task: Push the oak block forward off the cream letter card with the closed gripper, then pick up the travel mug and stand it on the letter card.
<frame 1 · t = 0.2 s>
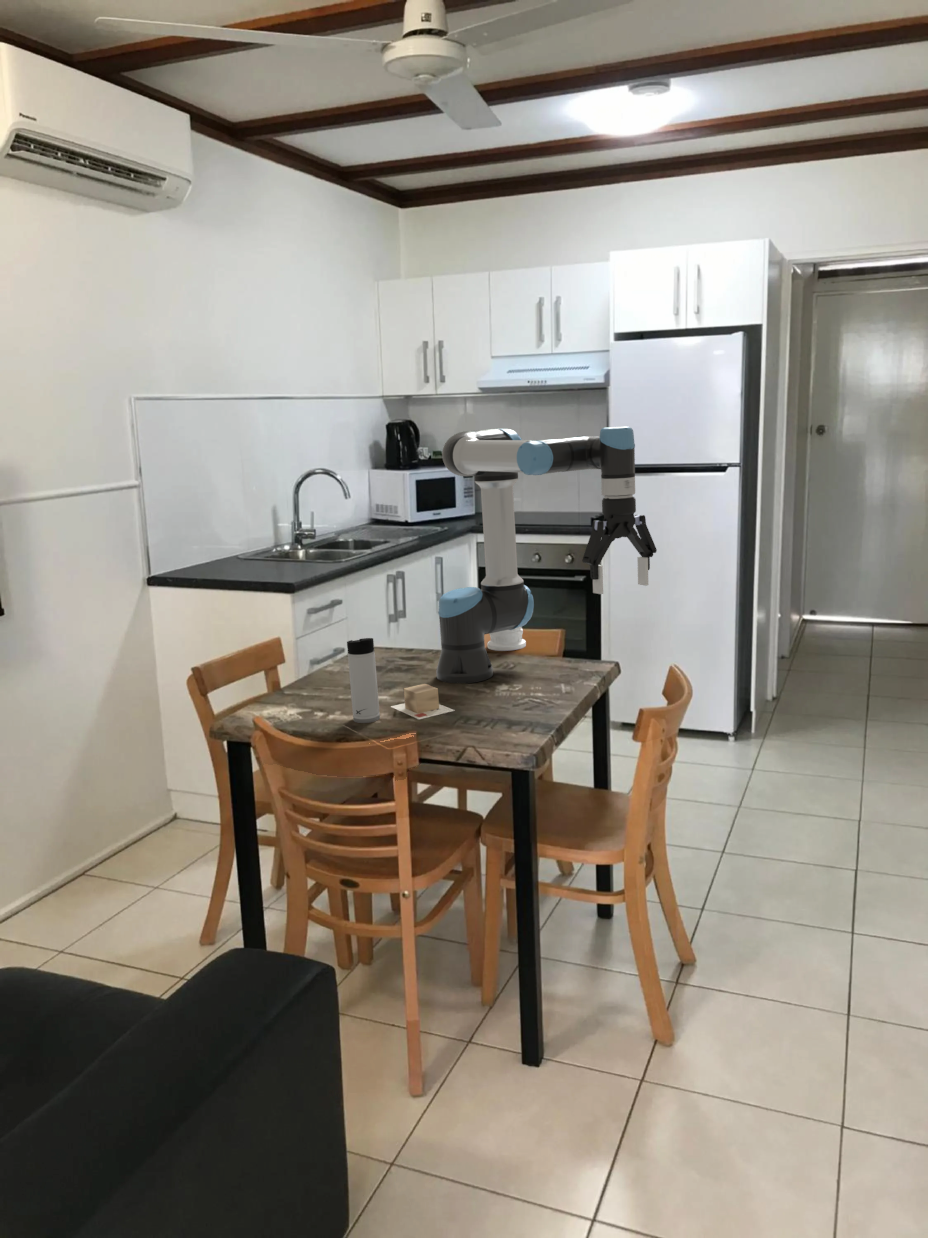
hand: (621, 589, 230), 28 cm above the table, fingers open, 13 cm apart
oak block: (422, 708, 241), resting on letter
travel mug: (367, 721, 236), on the table
letter: (422, 709, 241), on the table
decorative container: (506, 646, 300), on the table
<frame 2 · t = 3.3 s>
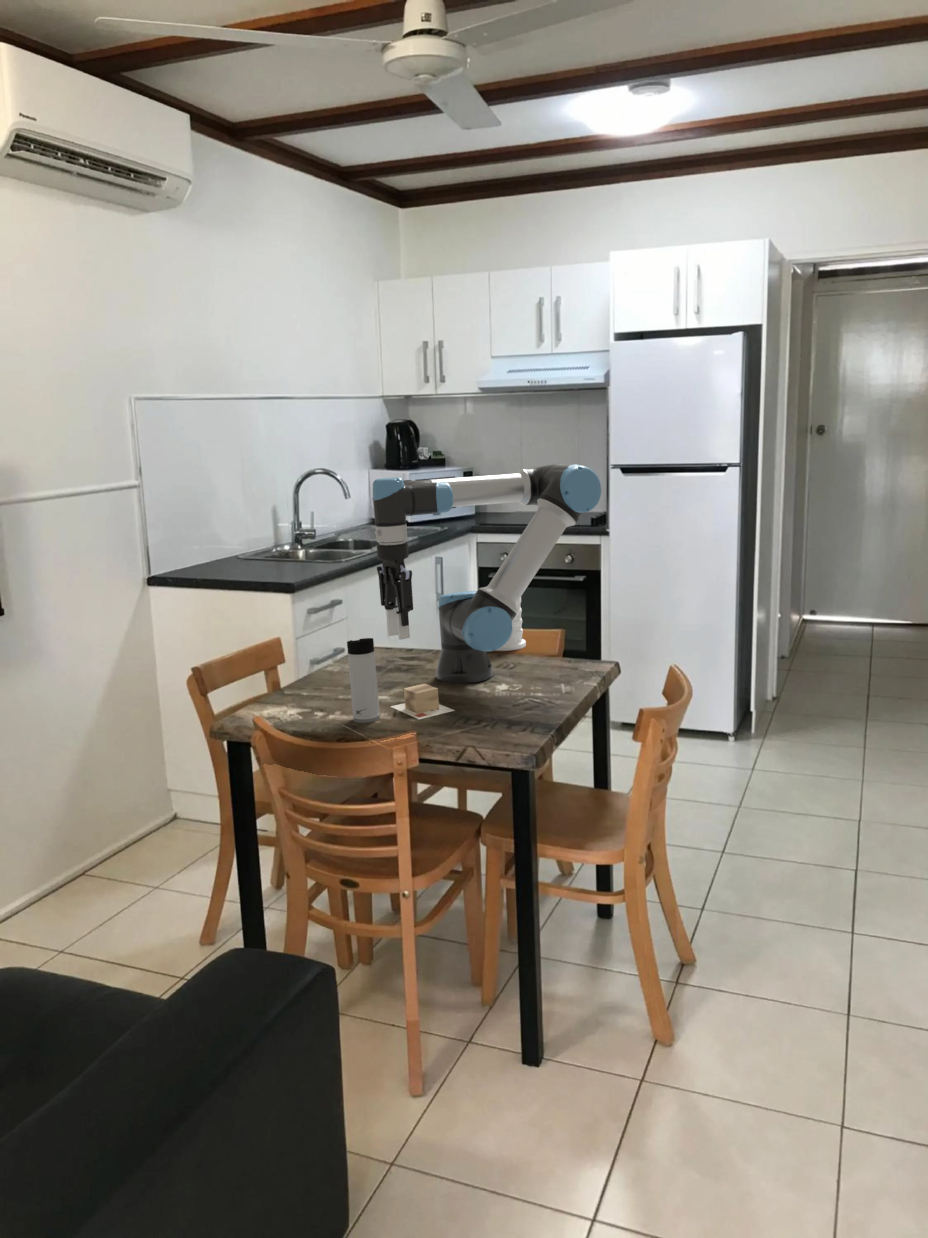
hand: (399, 636, 245), 17 cm above the table, fingers open, 4 cm apart
nothing on the table moved.
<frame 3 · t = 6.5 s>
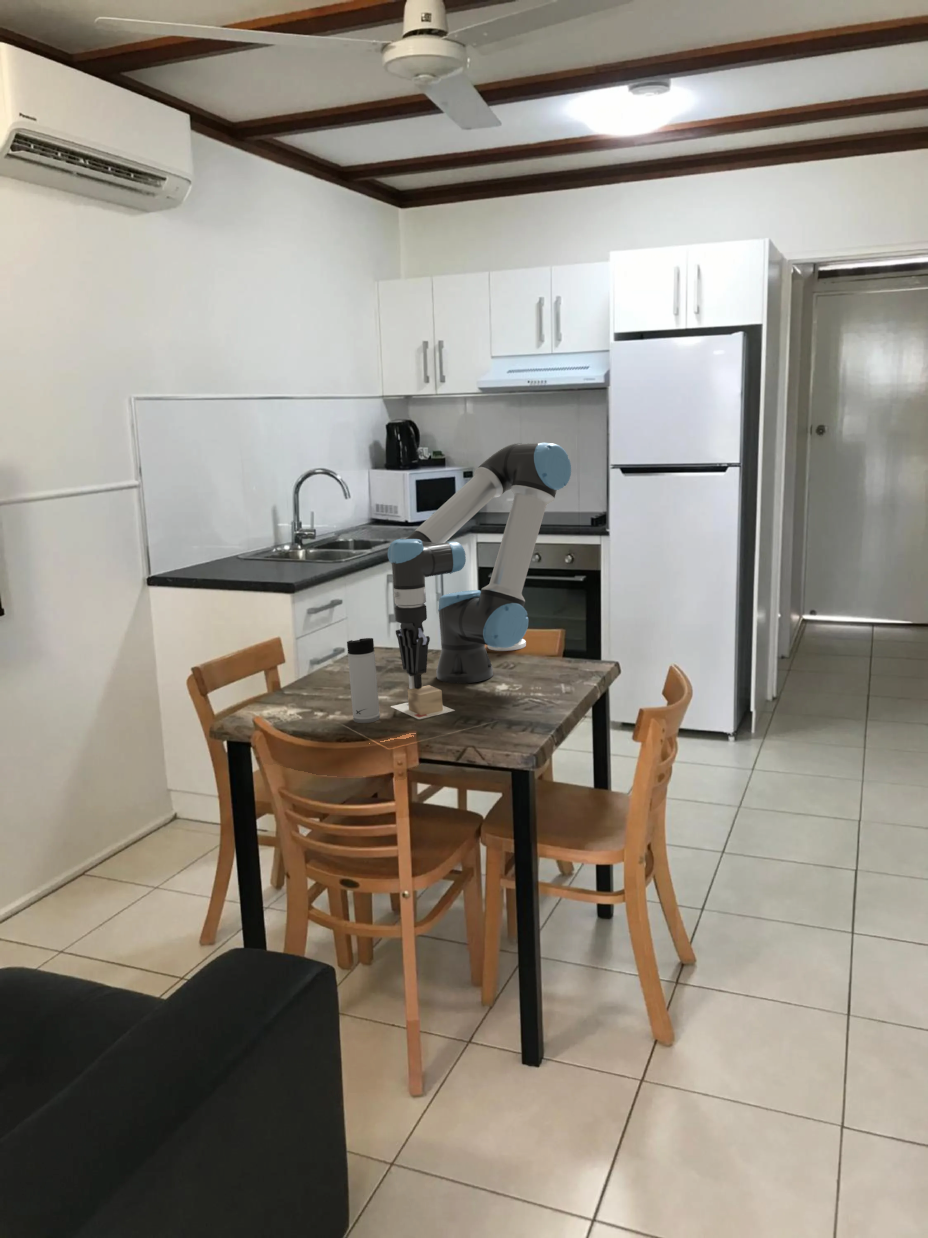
hand: (416, 700, 242), 2 cm above the table, fingers closed
oak block: (425, 710, 240), resting on letter
everything else where it was.
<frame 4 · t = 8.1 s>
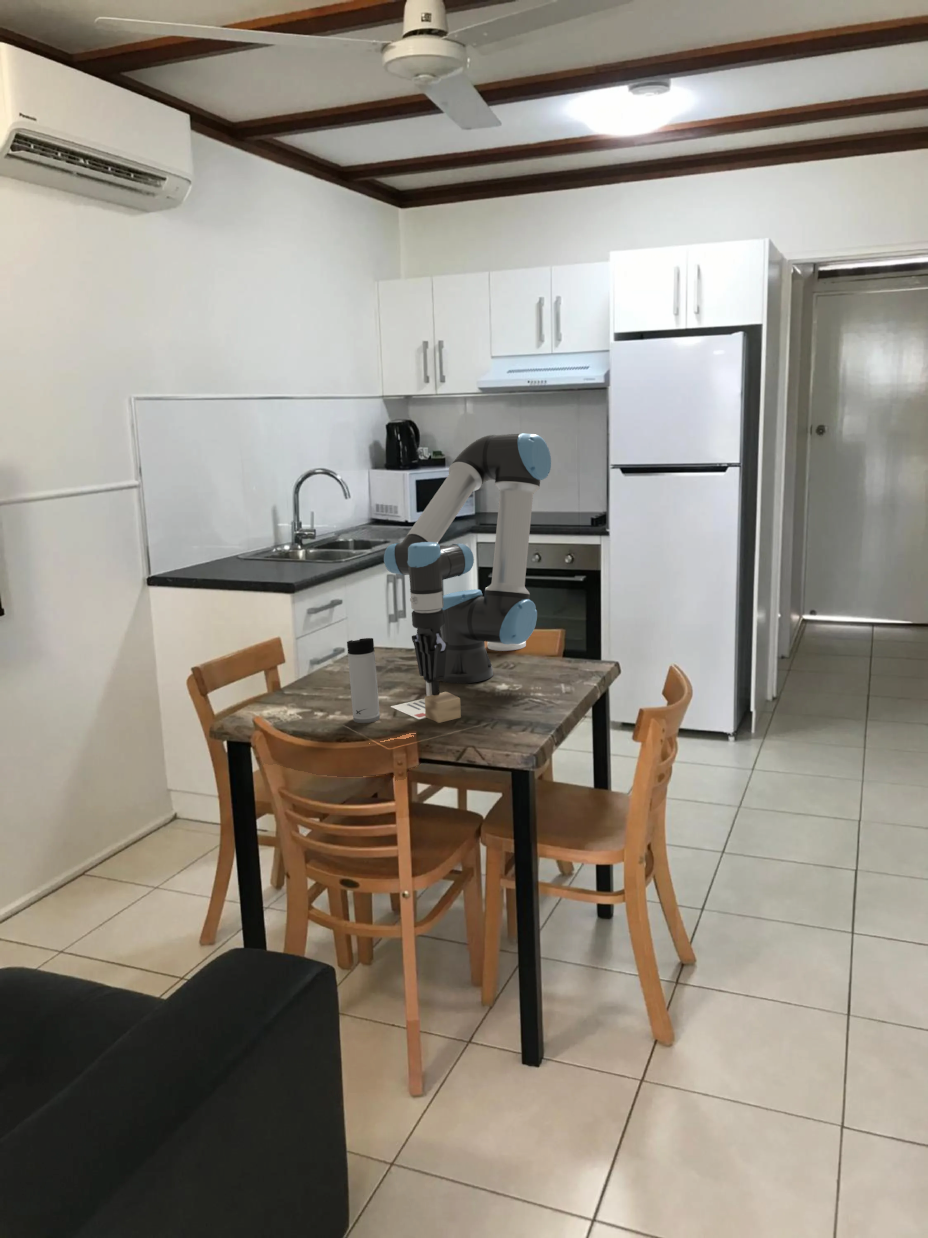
hand: (433, 707, 236), 2 cm above the table, fingers closed
oak block: (443, 717, 234), on the table, touching gripper, letter
everything else where it was.
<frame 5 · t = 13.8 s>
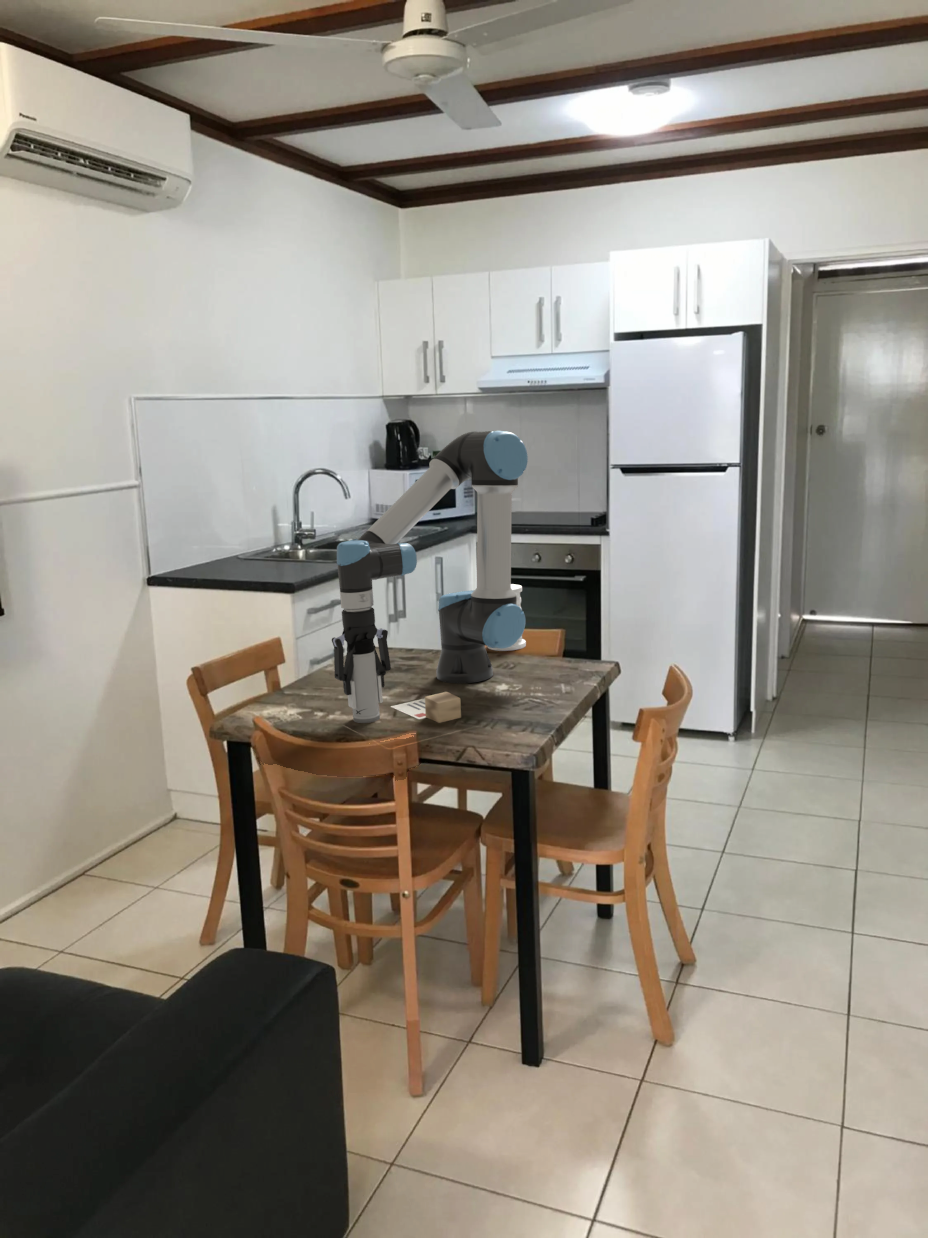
hand: (365, 704, 235), 4 cm above the table, fingers closed on travel mug, 6 cm apart
oak block: (443, 717, 234), on the table, touching letter
travel mug: (367, 721, 236), on the table, touching gripper
everything else where it was.
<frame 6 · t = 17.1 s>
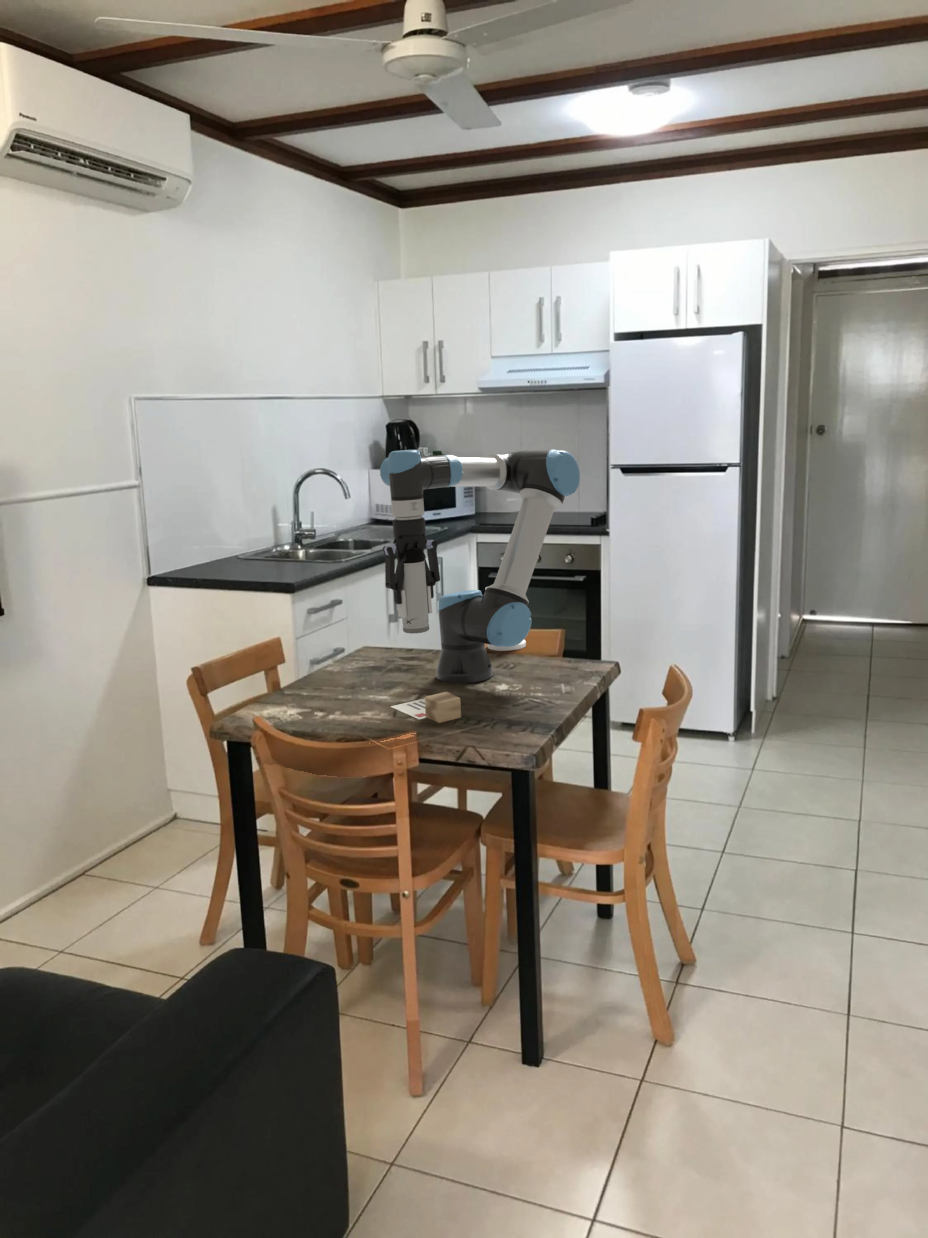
hand: (415, 614, 237), 23 cm above the table, fingers closed on travel mug, 6 cm apart
travel mug: (416, 631, 237), point 19 cm above the table, touching gripper
everything else where it was.
when the fingers open (5 cm above the table, at t = 20.6 s): travel mug drops 1 cm, resting on letter.
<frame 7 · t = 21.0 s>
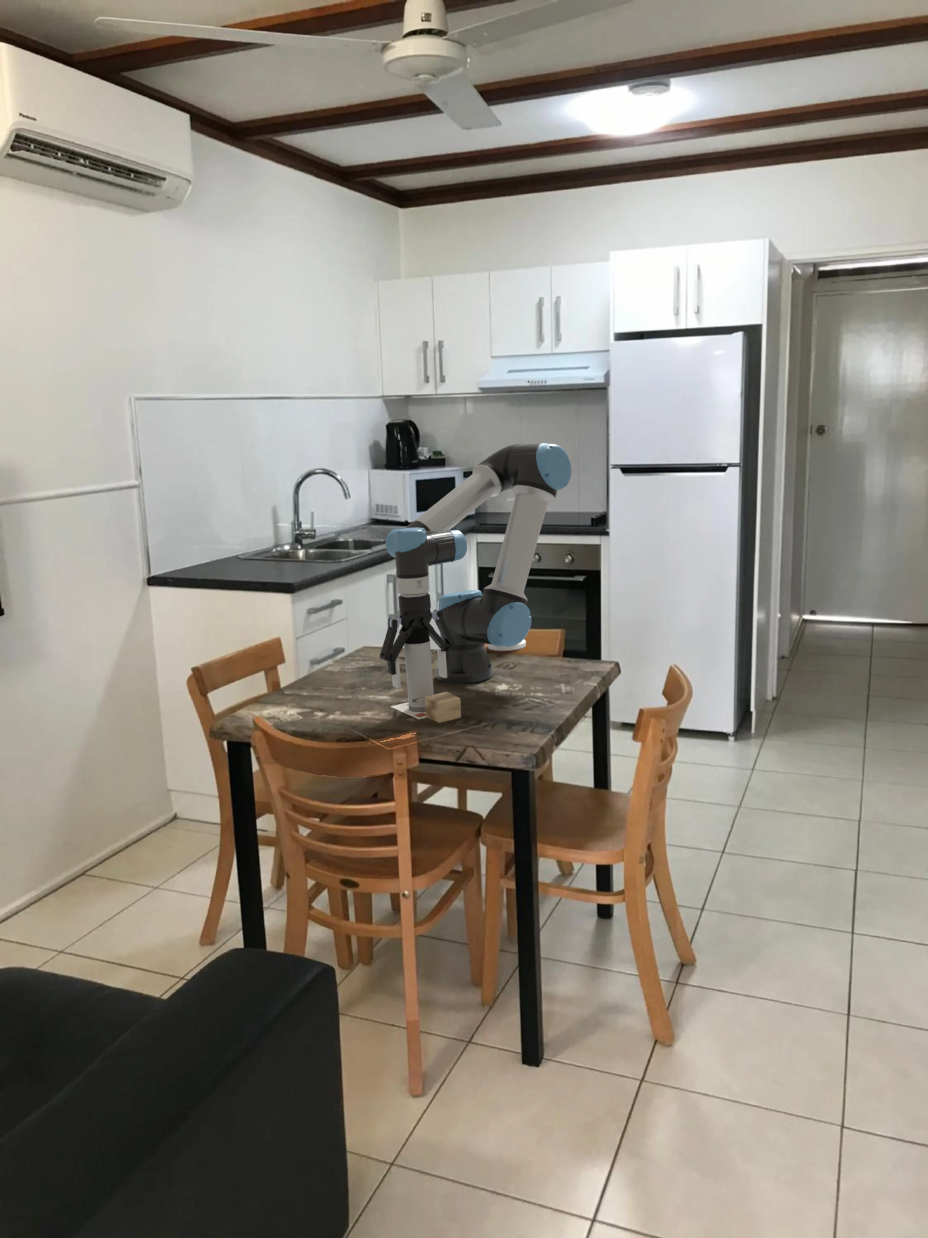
hand: (420, 682, 240), 7 cm above the table, fingers open, 12 cm apart
travel mug: (422, 709, 241), resting on letter
everything else where it was.
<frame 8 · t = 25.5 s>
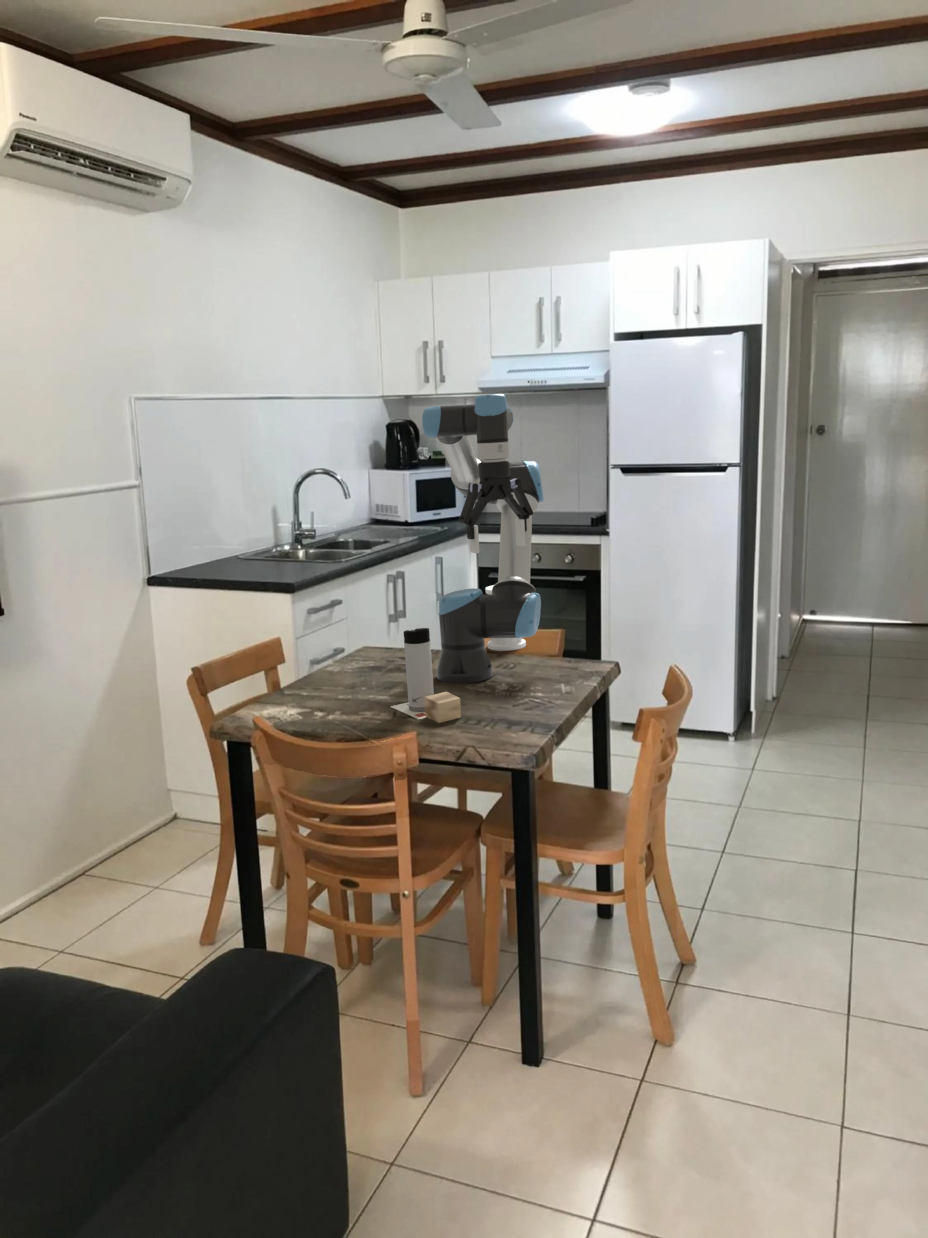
hand: (498, 549, 242), 37 cm above the table, fingers open, 13 cm apart
nothing on the table moved.
at the end: travel mug 0.0 cm from the letter (horizontally); travel mug tilted 0°; oak block moved 9.5 cm from its start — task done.
